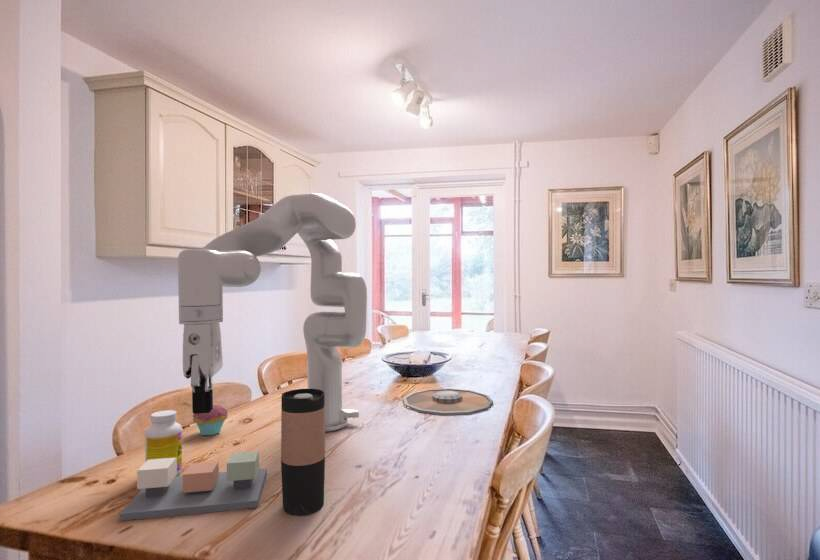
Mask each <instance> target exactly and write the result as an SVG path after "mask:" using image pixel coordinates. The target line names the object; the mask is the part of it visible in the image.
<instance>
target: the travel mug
mask: <svg viewBox="0 0 820 560" xmlns="http://www.w3.org/2000/svg"><path fill="white" fill-rule="evenodd" d="M280 407H281V416H280V417H281V425H280V426H281V427H280V429H281V430H280V433H281V434H280V435H281V437H280V442H281V443H280V445H281V447H280V453H281V454H280V461H281V462H280V464H281V465H280V469H281V470H280V471H281V493H282V496H281V497H282V509H283V511H284V513H285V514H287V515H289V514H290V516H293V515H296V517H300V516H301V517H302V516H303V515H304V516H308V515H312V514H314V513H316V512H318V511H319V510H321V509H322V508H323V506H324V503H325V502H324V501H325V482H326V481H325V477H326V476H325V475H326V472H325V471H326V432H325V406H324V392H323V391H322V390H319V389H307V388H297V389H292V390H288V391H284V392H283V393H282V394H281V405H280Z"/></svg>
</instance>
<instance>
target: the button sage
mask: <svg viewBox="0 0 820 560" xmlns="http://www.w3.org/2000/svg"><path fill="white" fill-rule="evenodd" d="M258 469H260V451H247V452H246V451H244V452H233V453H232V452H231V455H230V457H229V458H228V460H227V462H226V472H227V481H237V480H248V479H255V478H256V475H257V472H258Z"/></svg>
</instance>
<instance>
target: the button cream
mask: <svg viewBox="0 0 820 560" xmlns="http://www.w3.org/2000/svg"><path fill="white" fill-rule="evenodd" d="M136 471H137V472H136V474H137V475H136V476H137V479H136V480H137V481H136V483H137V484H136V488H137V490H141V489H145V488H156V487H168V486H169V484H170V483H171V482H172V480H173V479H174V478H175V476H176V475H177V457H176V458H163V459H149V460H147V461H146V462H144V463H143V464H142V465H141V466H140V467H139V468H138V469H137V470H136ZM177 476H178V475H177Z"/></svg>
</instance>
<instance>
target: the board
mask: <svg viewBox="0 0 820 560" xmlns="http://www.w3.org/2000/svg"><path fill="white" fill-rule="evenodd" d="M267 476H268V468H267V467H266V468H259V469H258V472H257V475H256V478H255V479H248V480H237V481H227V471H219V479H218V480H217V482H216V484H215V486H214V488H213V490H209V491H198V492H187V493H183V474H182V475H177V476H175V478H174V479H173V480H172V482H171V483H170V484H169V486H168V487H156V488H145V489H139V491H138V493H136V495H134V497H133V498H132V499H131V500H130V501H129V503H127V505H126V506H125V507H124V508H123V509H122V511H121V512H120V513H119V521H120V522H123V521H125V520H126V521H133V520H132V519H136V520H143V519H144V518H146V519H155V518H163V517H173V516H183V515H186V516H187V515H195V514H204V513H215V512H225V511H227V512H228V511H233V510H245V509H256V508H258V506H259V504H260V500H261V496H262V493H263V489H264V486H265V483H266V481H267V480H266V479H267Z"/></svg>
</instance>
